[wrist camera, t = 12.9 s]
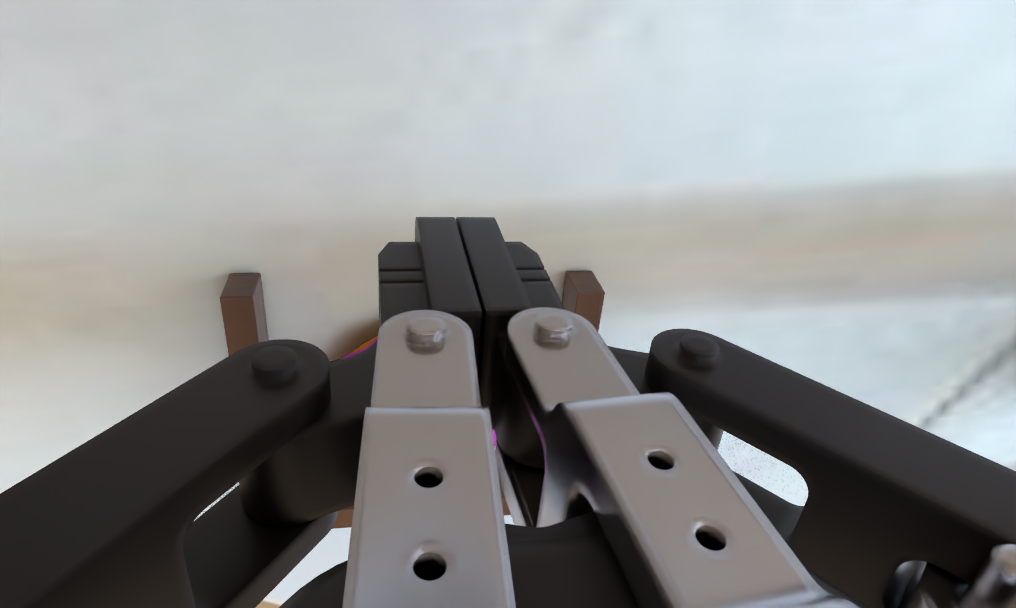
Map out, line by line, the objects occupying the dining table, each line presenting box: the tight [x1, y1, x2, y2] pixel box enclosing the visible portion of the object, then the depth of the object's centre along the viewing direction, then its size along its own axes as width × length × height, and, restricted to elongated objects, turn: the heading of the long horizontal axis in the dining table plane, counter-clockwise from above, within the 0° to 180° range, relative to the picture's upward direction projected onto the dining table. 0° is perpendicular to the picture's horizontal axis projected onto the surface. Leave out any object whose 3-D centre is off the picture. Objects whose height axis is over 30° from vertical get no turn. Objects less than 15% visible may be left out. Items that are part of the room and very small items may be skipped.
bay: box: [220, 271, 605, 529], centre depth 38 cm, size 19×16×2 cm
